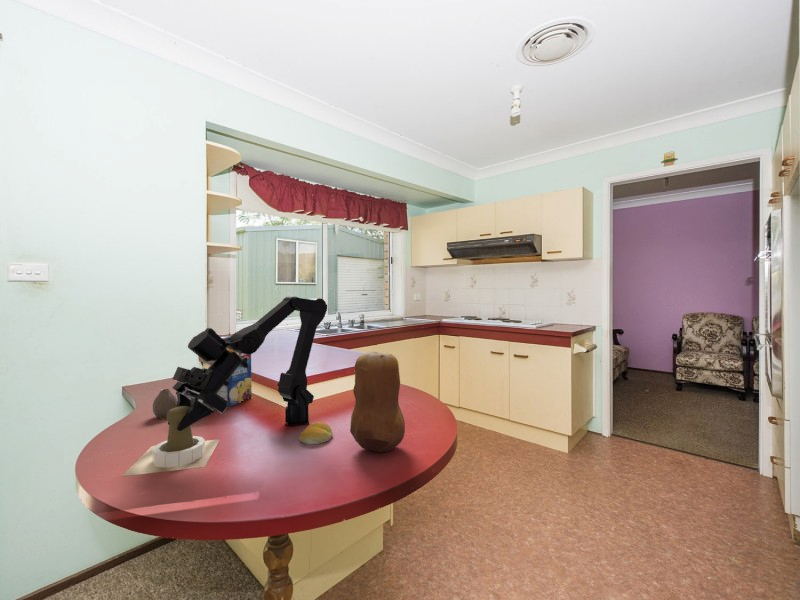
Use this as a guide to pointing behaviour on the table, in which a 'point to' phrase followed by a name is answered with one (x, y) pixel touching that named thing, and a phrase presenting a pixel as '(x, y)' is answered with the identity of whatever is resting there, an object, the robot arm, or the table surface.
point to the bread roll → (316, 433)
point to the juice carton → (238, 382)
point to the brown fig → (164, 403)
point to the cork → (176, 437)
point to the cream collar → (178, 454)
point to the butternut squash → (377, 403)
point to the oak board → (147, 466)
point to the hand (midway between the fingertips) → (173, 427)
